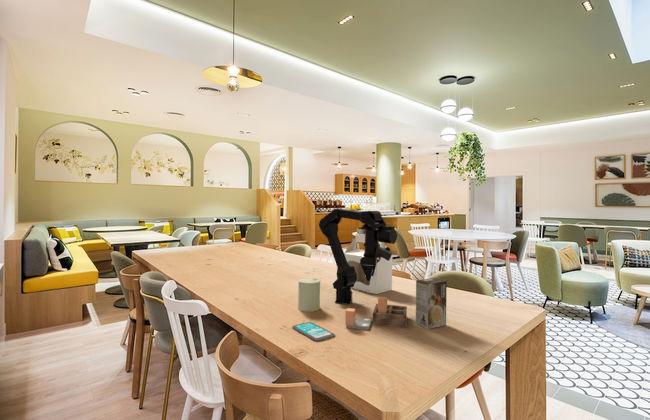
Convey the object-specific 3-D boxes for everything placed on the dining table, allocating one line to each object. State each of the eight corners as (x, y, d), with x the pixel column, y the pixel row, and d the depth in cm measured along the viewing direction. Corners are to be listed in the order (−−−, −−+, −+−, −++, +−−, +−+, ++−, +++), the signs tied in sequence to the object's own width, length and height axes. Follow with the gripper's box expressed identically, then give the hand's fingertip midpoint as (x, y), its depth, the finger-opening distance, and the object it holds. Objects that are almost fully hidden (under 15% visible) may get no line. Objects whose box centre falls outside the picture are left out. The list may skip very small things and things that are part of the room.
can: (324, 308, 136) (325, 279, 136) (308, 313, 130) (309, 283, 130) (309, 303, 143) (309, 275, 143) (293, 307, 136) (293, 279, 136)
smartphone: (315, 340, 102) (290, 325, 114) (315, 343, 102) (290, 328, 114) (337, 334, 107) (310, 321, 119) (337, 337, 107) (310, 323, 119)
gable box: (392, 290, 168) (393, 235, 167) (376, 294, 158) (377, 236, 158) (359, 282, 184) (360, 232, 183) (343, 285, 175) (343, 233, 174)
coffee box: (433, 319, 124) (434, 277, 124) (446, 325, 119) (447, 281, 118) (414, 323, 120) (415, 279, 120) (427, 329, 114) (428, 283, 114)
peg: (377, 320, 120) (378, 298, 120) (378, 317, 123) (379, 296, 123) (386, 321, 119) (386, 299, 119) (386, 318, 122) (387, 297, 122)
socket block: (372, 324, 119) (372, 313, 119) (375, 313, 130) (376, 303, 130) (406, 327, 116) (406, 316, 116) (406, 316, 127) (406, 306, 127)
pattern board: (345, 327, 115) (345, 310, 115) (349, 319, 123) (349, 303, 123) (368, 330, 113) (369, 313, 113) (371, 322, 121) (371, 305, 121)
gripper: (389, 245, 124) (388, 286, 125) (393, 239, 142) (392, 275, 142) (360, 243, 127) (359, 283, 128) (367, 238, 145) (366, 273, 146)
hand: (370, 278), depth 136 cm, fingers open, 9 cm apart
